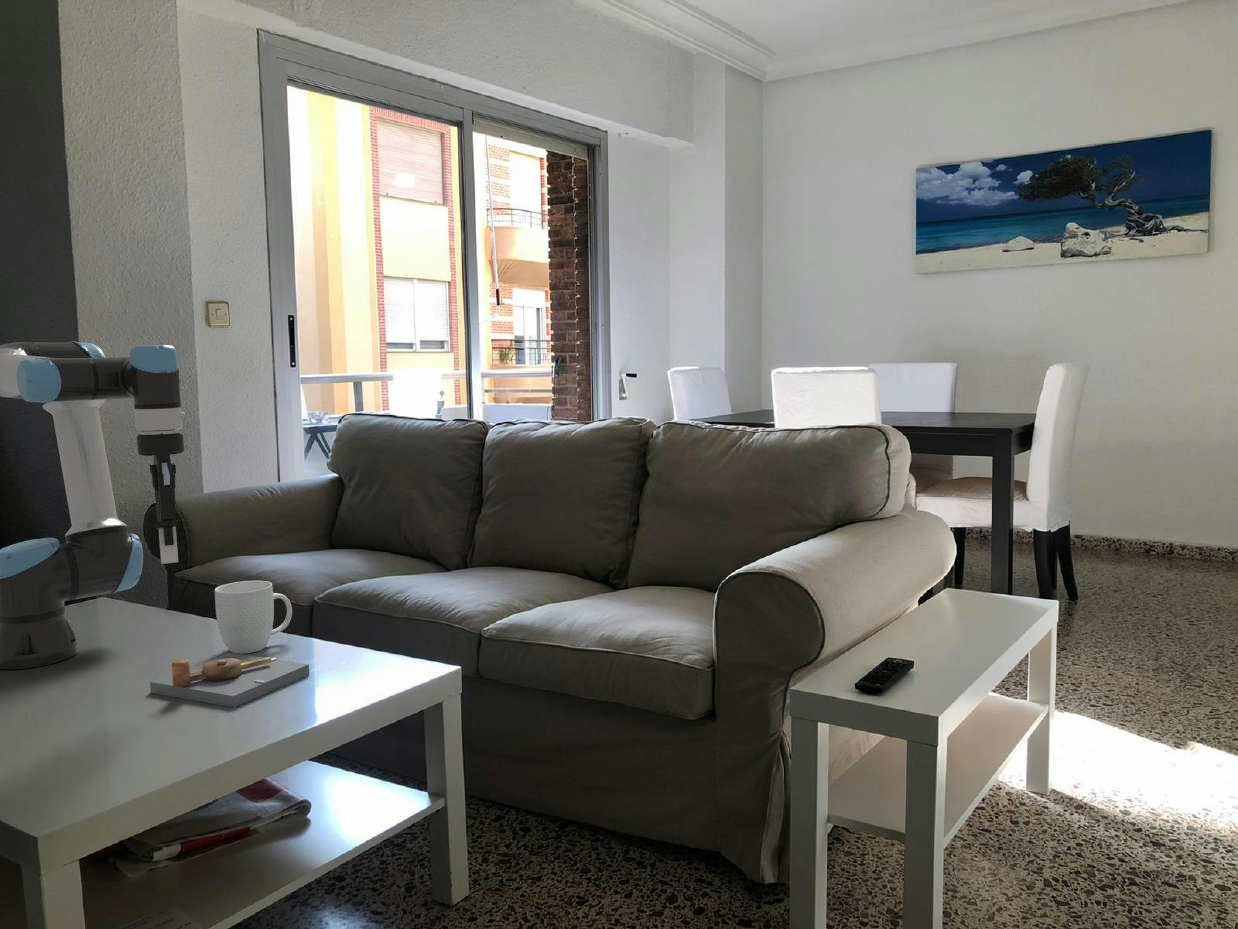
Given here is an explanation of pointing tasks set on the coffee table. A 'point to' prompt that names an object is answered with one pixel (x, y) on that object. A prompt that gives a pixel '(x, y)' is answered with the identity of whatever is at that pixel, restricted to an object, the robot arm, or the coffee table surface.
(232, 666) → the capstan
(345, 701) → the coffee table surface
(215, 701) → the board
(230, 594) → the mug
